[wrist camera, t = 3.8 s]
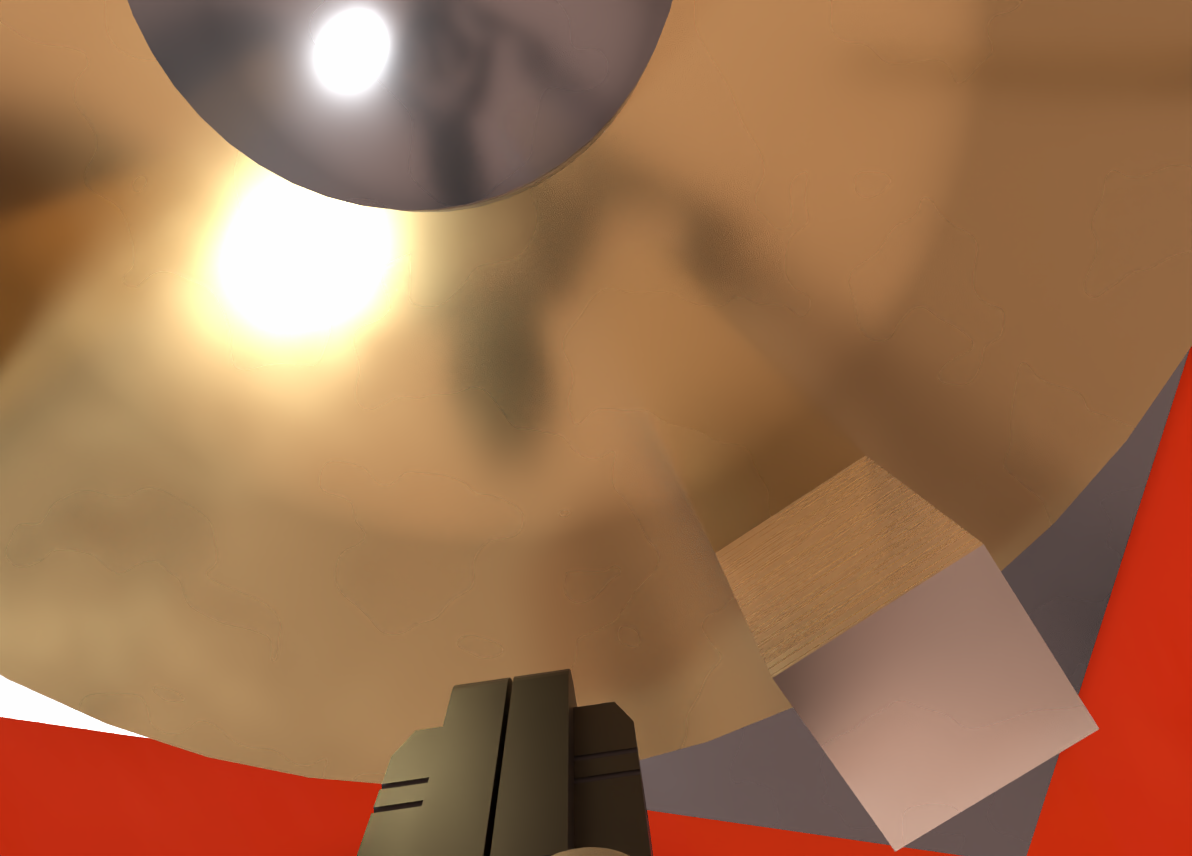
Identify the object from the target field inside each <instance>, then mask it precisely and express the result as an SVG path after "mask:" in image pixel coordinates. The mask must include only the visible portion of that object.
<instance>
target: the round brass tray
mask: <svg viewBox="0 0 1192 856" xmlns="http://www.w3.org/2000/svg"><path fill="white" fill-rule="evenodd" d="M1191 346H1192V0H0V675H1V676H3V677H5V678H6V679H8V680H10V681H12V682H15V683H17V684H19V685H21V686H24V687H26V688H28V689H30V690H32V691H35V692H37V693H39V694H41V695H43V696H46V697H48V698H50V699H52V700H54V701H57V702H59V703H61V704H63V705H65V706H68V707H70V708H72V709H74V710H76V711H79V712H81V713H83V714H85V715H88V716H90V717H92V718H94V719H96V720H99V721H101V722H103V723H105V724H108V725H111V726H114V727H117V728H120V729H123V730H126V731H129V732H132V733H135V734H138V735H141V736H145V737H148V738H151V739H154V740H157V741H160V742H163V743H166V744H169V745H172V746H175V747H179V748H182V749H185V750H188V751H191V752H194V753H197V754H200V755H203V756H206V757H210V758H215V759H220V760H225V761H230V762H235V763H240V764H245V765H250V766H255V767H260V768H265V769H270V770H275V771H280V772H285V773H290V774H295V775H299V776H304V777H310V778H321V779H333V780H345V781H357V782H368V783H380V784H382V781H383V779H384V776H385V773H386V770H387V767H388V764H389V761H390V758H391V756H392V755H393V754H394V753H395V752H396V751H397V750H398V749H399V748H400V746H401V745H402V744H403V743H404V742H405V741H406V740H407V739H408V738H409V737H410V736H411V735H412V734H413V733H414V732H415V731H416V730H422V729H429V728H436V727H443V723H444V719H445V715H446V711H447V707H448V704H449V700H450V696H451V692H452V689H453V687H454V686H455V685H460V684H467V683H474V682H481V681H488V680H495V679H502V678H509V677H510V678H511V679H512V681H513V678H514V677H515V676H522V675H529V674H535V673H542V672H549V671H556V670H563V669H570V671H571V674H572V679H573V684H574V690H575V696H576V703H577V707H580V706H587V705H594V704H601V703H608V702H615V703H616V704H617V705H618V706H619V707H620V708H621V709H622V710H623V711H624V712H625V713H626V714H627V715H628V716H629V717H630V718H631V719H632V720H633V721H634V726H635V733H636V740H637V747H638V753H639V760H642V759H646V758H650V757H653V756H657V755H661V754H664V753H668V752H672V751H675V750H679V749H683V748H687V747H690V746H694V745H698V744H701V743H705V742H708V741H711V740H713V739H716V738H718V737H721V736H723V735H725V734H728V733H730V732H733V731H735V730H738V729H740V728H743V727H745V726H748V725H750V724H753V723H755V722H758V721H760V720H763V719H765V718H768V717H770V716H773V715H775V714H778V713H780V712H783V711H785V710H787V709H790V708H792V707H793V708H794V709H795V711H796V712H797V714H798V715H799V716H800V718H801V719H802V721H803V722H804V723H805V725H806V726H807V728H808V729H809V731H810V732H811V733H812V735H813V736H814V738H815V739H816V740H817V742H818V743H819V745H820V746H821V747H822V749H823V750H824V752H825V753H826V754H827V756H828V757H829V759H830V760H831V762H832V763H833V764H834V766H835V767H836V769H837V770H838V771H839V773H840V774H841V776H842V777H843V778H844V780H845V781H846V783H847V784H848V785H849V787H850V788H851V790H852V791H853V793H854V794H855V795H856V797H857V798H858V800H859V801H860V802H861V804H862V805H863V807H864V808H865V809H866V811H867V812H868V814H869V815H870V816H871V818H872V819H873V821H874V822H875V824H876V825H877V826H878V828H879V829H880V831H881V832H882V833H883V835H884V836H885V838H886V839H887V840H888V842H889V843H890V845H891V846H892V848H893V849H894V850H895V851H897V850H899V849H900V848H902V847H904V846H905V845H907V844H909V843H910V842H912V841H914V840H915V839H917V838H919V837H920V836H922V835H924V834H925V833H927V832H929V831H930V830H932V829H934V828H935V827H937V826H939V825H940V824H942V823H944V822H945V821H947V820H949V819H950V818H952V817H954V816H955V815H957V814H959V813H960V812H962V811H964V810H965V809H967V808H969V807H970V806H972V805H974V804H975V803H977V802H979V801H980V800H982V799H984V798H985V797H987V796H989V795H990V794H992V793H994V792H995V791H997V790H999V789H1000V788H1002V787H1004V786H1005V785H1007V784H1009V783H1010V782H1012V781H1014V780H1015V779H1017V778H1018V777H1020V776H1022V775H1023V774H1025V773H1027V772H1028V771H1030V770H1032V769H1033V768H1035V767H1037V766H1038V765H1040V764H1042V763H1043V762H1045V761H1047V760H1048V759H1050V758H1052V757H1053V756H1055V755H1057V754H1058V753H1060V752H1062V751H1063V750H1065V749H1067V748H1068V747H1070V746H1072V745H1073V744H1075V743H1077V742H1078V741H1080V740H1082V739H1083V738H1085V737H1087V736H1088V735H1090V734H1092V733H1093V732H1095V731H1097V730H1098V729H1099V728H1098V726H1097V725H1096V723H1095V722H1094V720H1093V718H1092V717H1091V715H1090V714H1089V712H1088V710H1087V709H1086V707H1085V706H1084V704H1083V702H1082V701H1081V699H1080V697H1079V696H1078V694H1077V693H1076V691H1075V689H1074V688H1073V686H1072V685H1071V683H1070V681H1069V680H1068V678H1067V677H1066V675H1065V673H1064V672H1063V670H1062V669H1061V667H1060V665H1059V664H1058V662H1057V661H1056V659H1055V657H1054V656H1053V654H1052V653H1051V651H1050V649H1049V648H1048V646H1047V645H1046V643H1045V641H1044V640H1043V638H1042V637H1041V635H1040V633H1039V632H1038V630H1037V629H1036V627H1035V625H1034V624H1033V622H1032V621H1031V619H1030V617H1029V616H1028V614H1027V613H1026V611H1025V609H1024V608H1023V606H1022V605H1021V603H1020V601H1019V600H1018V598H1017V597H1016V595H1015V593H1014V592H1013V590H1012V589H1011V587H1010V585H1009V584H1008V582H1007V581H1006V579H1005V577H1004V576H1003V574H1002V573H1001V571H1002V570H1003V569H1004V568H1005V567H1006V566H1007V565H1009V564H1010V563H1011V562H1012V561H1013V560H1014V559H1015V558H1016V557H1017V556H1018V555H1020V554H1021V553H1022V552H1023V551H1024V550H1025V549H1026V548H1027V547H1028V546H1030V545H1031V544H1032V543H1033V542H1034V541H1035V540H1036V539H1037V538H1038V537H1039V536H1041V535H1042V534H1043V533H1044V532H1045V531H1046V530H1047V529H1048V528H1049V527H1051V526H1052V525H1053V524H1054V523H1055V522H1056V521H1057V519H1058V518H1059V517H1060V516H1061V515H1062V514H1063V513H1064V511H1065V510H1066V509H1067V508H1068V507H1069V506H1070V505H1071V503H1072V502H1073V501H1074V500H1075V499H1076V498H1077V497H1078V495H1079V494H1080V493H1081V492H1082V491H1083V490H1084V489H1085V487H1086V486H1087V485H1088V484H1089V483H1090V482H1091V481H1092V479H1093V478H1094V477H1095V476H1096V475H1097V474H1098V473H1099V471H1100V470H1101V469H1102V468H1103V467H1104V466H1105V465H1106V463H1107V462H1108V461H1109V460H1110V459H1111V458H1112V457H1113V455H1114V454H1115V453H1116V452H1117V451H1118V450H1119V449H1120V447H1121V446H1122V445H1123V444H1124V443H1125V442H1126V441H1127V439H1128V438H1129V436H1130V435H1131V433H1132V432H1133V430H1134V429H1135V428H1136V426H1137V425H1138V423H1139V422H1140V420H1141V419H1142V417H1143V416H1144V414H1145V413H1146V412H1147V410H1148V409H1149V407H1150V406H1151V404H1152V403H1153V401H1154V400H1155V399H1156V397H1157V396H1158V394H1159V393H1160V391H1161V390H1162V388H1163V387H1164V385H1165V384H1166V383H1167V381H1168V380H1169V378H1170V377H1171V375H1172V374H1173V372H1174V371H1175V370H1176V368H1177V367H1178V365H1179V364H1180V362H1181V361H1182V359H1183V358H1184V356H1185V355H1186V354H1187V352H1188V351H1189V349H1190V348H1191Z"/></svg>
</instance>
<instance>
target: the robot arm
mask: <svg viewBox="0 0 1192 856" xmlns="http://www.w3.org/2000/svg"><path fill="white" fill-rule="evenodd" d="M357 856H653V851H652V844H651V836H650V828H649V821H648V815H647V808H646V801H645V794H644V787H643V781H642V774H641V767H640V760H639V753H638V747H637V740H636V733H635V726H634V721H633V720H632V719H631V718H630V717H629V716H628V715H627V714H626V713H625V712H624V711H623V710H622V709H621V708H620V707H619V706H618V705H617V704H616V703H615V702H608V703H601V704H594V705H587V706H580V707H577V703H576V696H575V690H574V684H573V679H572V674H571V671H570V669H563V670H556V671H549V672H542V673H535V674H529V675H522V676H515V677H514V678H513V681H512V679H511V678H510V677H509V678H502V679H495V680H488V681H481V682H474V683H467V684H460V685H455V686H454V687H453V689H452V692H451V696H450V700H449V704H448V707H447V711H446V715H445V719H444V723H443V727H436V728H429V729H422V730H416V731H415V732H414V733H413V734H412V735H411V736H410V737H409V738H408V739H407V740H406V741H405V742H404V743H403V744H402V745H401V746H400V748H399V749H398V750H397V751H396V752H395V753H394V754H393V755H392V756H391V758H390V761H389V764H388V767H387V770H386V773H385V776H384V779H383V781H382V789H381V790H379V793H378V796H377V799H376V802H375V805H374V813H371V816H370V819H369V822H368V825H367V828H366V831H365V834H364V837H363V839H362V842H361V845H360V848H359V851H358V854H357Z"/></svg>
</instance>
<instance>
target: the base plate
mask: <svg viewBox="0 0 1192 856" xmlns="http://www.w3.org/2000/svg"><path fill="white" fill-rule="evenodd" d="M1189 350H1190V349H1189ZM1188 353H1189V351H1188V352H1187V354H1186V355H1185V356H1184V358H1183V359H1182V361H1181V362H1180V364H1179V365H1178V367H1177V368H1176V370H1175V371H1174V372H1173V374H1172V375H1171V377H1170V378H1169V380H1168V381H1167V383H1166V384H1165V385H1164V387H1163V388H1162V390H1161V391H1160V393H1159V394H1158V396H1157V397H1156V399H1155V400H1154V401H1153V403H1152V404H1151V406H1150V407H1149V409H1148V410H1147V412H1146V413H1145V414H1144V416H1143V417H1142V419H1141V420H1140V422H1139V423H1138V425H1137V426H1136V428H1135V429H1134V430H1133V432H1132V433H1131V435H1130V436H1129V438H1128V439H1127V441H1126V442H1125V443H1124V444H1123V445H1122V446H1121V447H1120V449H1119V450H1118V451H1117V452H1116V453H1115V454H1114V455H1113V457H1112V458H1111V459H1110V460H1109V461H1108V462H1107V463H1106V465H1105V466H1104V467H1103V468H1102V469H1101V470H1100V471H1099V473H1098V474H1097V475H1096V476H1095V477H1094V478H1093V479H1092V481H1091V482H1090V483H1089V484H1088V485H1087V486H1086V487H1085V489H1084V490H1083V491H1082V492H1081V493H1080V494H1079V495H1078V497H1077V498H1076V499H1075V500H1074V501H1073V502H1072V503H1071V505H1070V506H1069V507H1068V508H1067V509H1066V510H1065V511H1064V513H1063V514H1062V515H1061V516H1060V517H1059V518H1058V519H1057V521H1056V522H1055V523H1054V524H1053V525H1052V526H1051V527H1049V528H1048V529H1047V530H1046V531H1045V532H1044V533H1043V534H1042V535H1041V536H1039V537H1038V538H1037V539H1036V540H1035V541H1034V542H1033V543H1032V544H1031V545H1030V546H1028V547H1027V548H1026V549H1025V550H1024V551H1023V552H1022V553H1021V554H1020V555H1018V556H1017V557H1016V558H1015V559H1014V560H1013V561H1012V562H1011V563H1010V564H1009V565H1007V566H1006V567H1005V568H1004V569H1003V570H1002V571H1001V573H1002V574H1003V576H1004V577H1005V579H1006V581H1007V582H1008V584H1009V585H1010V587H1011V589H1012V590H1013V592H1014V593H1015V595H1016V597H1017V598H1018V600H1019V601H1020V603H1021V605H1022V606H1023V608H1024V609H1025V611H1026V613H1027V614H1028V616H1029V617H1030V619H1031V621H1032V622H1033V624H1034V625H1035V627H1036V629H1037V630H1038V632H1039V633H1040V635H1041V637H1042V638H1043V640H1044V641H1045V643H1046V645H1047V646H1048V648H1049V649H1050V651H1051V653H1052V654H1053V656H1054V657H1055V659H1056V661H1057V662H1058V664H1059V665H1060V667H1061V669H1062V670H1063V672H1064V673H1065V675H1066V677H1067V678H1068V680H1069V681H1070V683H1071V685H1072V686H1073V688H1074V689H1075V691H1076V693H1077V694H1079V691H1080V688H1081V685H1082V682H1083V679H1084V675H1085V672H1086V669H1087V666H1088V663H1089V660H1090V657H1091V654H1092V651H1093V648H1094V644H1095V641H1096V638H1097V635H1098V632H1099V629H1100V626H1101V623H1102V620H1103V616H1104V613H1105V610H1106V607H1107V604H1108V601H1109V598H1110V595H1111V592H1112V589H1113V585H1114V582H1115V579H1116V576H1117V573H1118V570H1119V567H1120V564H1121V561H1122V558H1123V554H1124V551H1125V548H1126V545H1127V542H1128V539H1129V536H1130V533H1131V530H1132V526H1133V523H1134V520H1135V517H1136V514H1137V511H1138V508H1139V505H1140V502H1141V499H1142V495H1143V492H1144V489H1145V486H1146V483H1147V480H1148V477H1149V474H1150V471H1151V468H1152V464H1153V461H1154V458H1155V455H1156V452H1157V449H1158V446H1159V443H1160V440H1161V437H1162V433H1163V430H1164V427H1165V424H1166V421H1167V418H1168V415H1169V412H1170V409H1171V405H1172V402H1173V399H1174V396H1175V393H1176V390H1177V387H1178V384H1179V381H1180V378H1181V374H1182V371H1183V368H1184V365H1185V362H1186V359H1187V356H1188ZM0 717H7V718H14V719H21V720H28V721H34V722H41V723H48V724H55V725H62V726H69V727H76V728H83V729H90V730H97V731H104V732H111V733H118V734H125V735H131V736H138V737H145V736H141V735H138V734H135V733H132V732H129V731H126V730H123V729H120V728H117V727H114V726H111V725H108V724H105V723H103V722H101V721H99V720H96V719H94V718H92V717H90V716H88V715H85V714H83V713H81V712H79V711H76V710H74V709H72V708H70V707H68V706H65V705H63V704H61V703H59V702H57V701H54V700H52V699H50V698H48V697H46V696H43V695H41V694H39V693H37V692H35V691H32V690H30V689H28V688H26V687H24V686H21V685H19V684H17V683H15V682H12V681H10V680H8V679H6V678H5V677H3V676H1V675H0ZM145 738H148V737H145ZM1058 756H1059V753H1058V754H1057V755H1055V756H1053V757H1052V758H1050V759H1048V760H1047V761H1045V762H1043V763H1042V764H1040V765H1038V766H1037V767H1035V768H1033V769H1032V770H1030V771H1028V772H1027V773H1025V774H1023V775H1022V776H1020V777H1018V778H1017V779H1015V780H1014V781H1012V782H1010V783H1009V784H1007V785H1005V786H1004V787H1002V788H1000V789H999V790H997V791H995V792H994V793H992V794H990V795H989V796H987V797H985V798H984V799H982V800H980V801H979V802H977V803H975V804H974V805H972V806H970V807H969V808H967V809H965V810H964V811H962V812H960V813H959V814H957V815H955V816H954V817H952V818H950V819H949V820H947V821H945V822H944V823H942V824H940V825H939V826H937V827H935V828H934V829H932V830H930V831H929V832H927V833H925V834H924V835H922V836H920V837H919V838H917V839H915V840H914V841H912V842H910V843H909V844H907V845H905V846H904V847H907V848H914V849H921V850H928V851H935V852H942V853H949V854H956V855H963V856H1026V855H1027V852H1028V849H1029V846H1030V843H1031V840H1032V837H1033V834H1034V831H1035V827H1036V824H1037V821H1038V818H1039V815H1040V812H1041V809H1042V806H1043V803H1044V800H1045V796H1046V793H1047V790H1048V787H1049V784H1050V781H1051V778H1052V775H1053V772H1054V769H1055V765H1056V762H1057V759H1058ZM640 767H641V774H642V781H643V787H644V794H645V801H646V808H647V810H651V811H658V812H665V813H672V814H679V815H686V816H693V817H699V818H706V819H713V820H720V821H727V822H734V823H741V824H748V825H755V826H762V827H769V828H776V829H783V830H789V831H796V832H803V833H810V834H817V835H824V836H831V837H838V838H845V839H852V840H859V841H866V842H873V843H880V844H886V845H890V843H889V842H888V840H887V839H886V838H885V836H884V835H883V833H882V832H881V831H880V829H879V828H878V826H877V825H876V824H875V822H874V821H873V819H872V818H871V816H870V815H869V814H868V812H867V811H866V809H865V808H864V807H863V805H862V804H861V802H860V801H859V800H858V798H857V797H856V795H855V794H854V793H853V791H852V790H851V788H850V787H849V785H848V784H847V783H846V781H845V780H844V778H843V777H842V776H841V774H840V773H839V771H838V770H837V769H836V767H835V766H834V764H833V763H832V762H831V760H830V759H829V757H828V756H827V754H826V753H825V752H824V750H823V749H822V747H821V746H820V745H819V743H818V742H817V740H816V739H815V738H814V736H813V735H812V733H811V732H810V731H809V729H808V728H807V726H806V725H805V723H804V722H803V721H802V719H801V718H800V716H799V715H798V714H797V712H796V711H795V709H794V708H793V707H792V708H790V709H787V710H785V711H783V712H780V713H778V714H775V715H773V716H770V717H768V718H765V719H763V720H760V721H758V722H755V723H753V724H750V725H748V726H745V727H743V728H740V729H738V730H735V731H733V732H730V733H728V734H725V735H723V736H721V737H718V738H716V739H713V740H711V741H708V742H705V743H701V744H698V745H694V746H690V747H687V748H683V749H679V750H675V751H672V752H668V753H664V754H661V755H657V756H653V757H650V758H646V759H642V760H640Z"/></svg>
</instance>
